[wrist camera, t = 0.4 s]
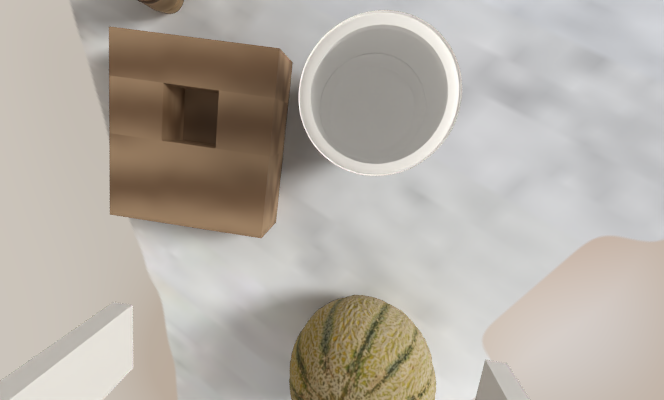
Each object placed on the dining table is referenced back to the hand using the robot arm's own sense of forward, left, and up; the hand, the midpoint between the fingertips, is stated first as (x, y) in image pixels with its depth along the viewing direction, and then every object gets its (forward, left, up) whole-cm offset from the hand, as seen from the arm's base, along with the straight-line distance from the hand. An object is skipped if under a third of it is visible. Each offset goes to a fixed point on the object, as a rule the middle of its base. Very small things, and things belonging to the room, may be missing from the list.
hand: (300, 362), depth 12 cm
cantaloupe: (+15, +5, -27) cm, 31 cm away
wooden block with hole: (-6, -15, -27) cm, 31 cm away
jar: (-11, +2, -27) cm, 29 cm away
